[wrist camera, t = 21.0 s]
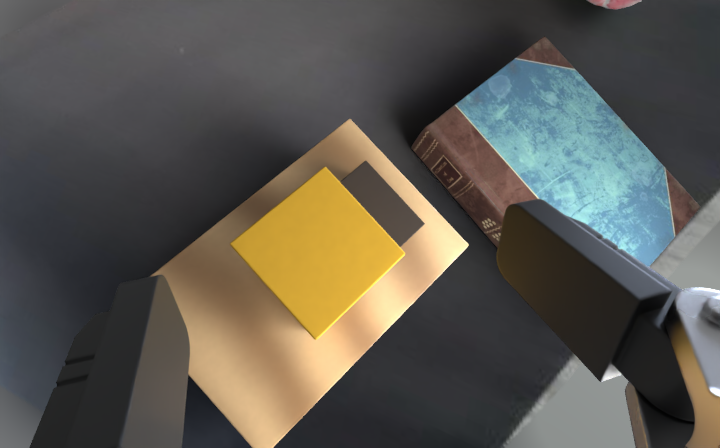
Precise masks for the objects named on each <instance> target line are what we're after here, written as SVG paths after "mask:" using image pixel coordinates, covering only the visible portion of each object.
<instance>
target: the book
mask: <svg viewBox="0 0 720 448" xmlns="http://www.w3.org/2000/svg"><path fill="white" fill-rule="evenodd" d="M411 148H412V149H413V151H414V152H415V153H416V154H417V155H418V157H419V158H420V159H421V160H422V161H423V162H424V164H425V165H426V166H427V167H428V168H429V169H430V170H431V172H432V173H433V174H434V175H435V176H436V177H437V179H438V180H439V181H440V182H441V183H442V184H443V186H444V187H445V188H446V189H447V190H448V191H449V193H450V194H451V195H452V196H453V197H454V198H455V199H456V201H457V202H458V203H459V204H460V205H461V206H462V208H463V209H464V210H465V211H466V212H467V213H468V215H469V216H470V217H471V218H472V219H473V220H474V222H475V223H476V224H477V225H478V226H479V227H480V228H481V230H482V231H483V232H484V233H485V234H486V235H487V237H488V238H489V239H490V240H491V241H492V242H493V244H494V245H495V246H496V247H497V248H498V245H499V240H500V234H501V229H502V224H503V219H504V214H505V210H506V208H507V207H508V206H509V205H511V204H515V203H520V202H525V201H530V200H535V199H542V200H544V201H546V202H547V203H549V204H550V205H552V206H553V207H554V208H556V209H557V210H559V211H560V212H562V213H563V214H564V215H566V216H569V217H571V218H574V219H576V220H579V221H581V222H583V223H586V224H587V225H588V226H590V227H591V228H593V229H594V230H596V231H597V232H599V233H600V234H602V235H603V238H604V239H605V238H607V239H609V240H610V241H612V242H613V243H615V244H616V245H618V248H619V249H623V250H625V251H626V252H628V253H629V254H631V255H632V256H634V257H635V258H636V259H638V260H639V261H641V262H642V263H644V264H645V265H647V266H648V267H649V266H650V265H651V264H652V262H653V261H654V260H655V259H656V258H657V257H658V256H659V254H660V253H661V252H662V251H663V250H664V249H665V248H666V246H667V245H668V244H669V243H670V242H671V241H672V240H673V238H674V237H675V236H676V235H677V234H678V233H679V231H680V230H681V229H682V228H683V227H684V226H685V225H686V223H687V222H688V221H689V220H690V219H691V218H692V216H693V215H694V214H695V213H696V212H697V211H698V209H699V208H700V206H699V205H698V204H697V202H696V201H695V200H694V199H693V198H692V197H691V196H690V195H689V194H688V192H687V191H686V190H685V189H684V188H683V187H682V186H681V185H680V184H679V183H678V181H677V180H676V179H675V178H674V177H673V176H672V175H671V174H670V173H669V172H668V171H667V169H666V168H665V167H664V166H663V165H662V164H661V163H660V162H659V161H658V160H657V158H656V157H655V156H654V155H653V154H652V153H651V152H650V151H649V150H648V149H647V147H646V146H645V145H644V144H643V143H642V142H641V141H640V140H639V139H638V138H637V137H636V135H635V134H634V133H633V132H632V131H631V130H630V129H629V128H628V127H627V126H626V124H625V123H624V122H623V121H622V120H621V119H620V118H619V117H618V116H617V115H616V114H615V112H614V111H613V110H612V109H611V108H610V107H609V106H608V105H607V104H606V103H605V101H604V100H603V99H602V98H601V97H600V96H599V95H598V94H597V93H596V92H595V90H594V89H593V88H592V87H591V86H590V85H589V84H588V83H587V82H586V81H585V80H584V78H583V77H582V76H581V75H580V74H579V73H578V72H577V71H576V70H575V69H574V67H573V66H572V65H571V64H570V63H569V62H568V61H567V60H566V59H565V58H564V57H563V55H562V54H561V53H560V52H559V51H558V50H557V49H556V48H555V47H554V46H553V44H552V43H551V42H550V41H549V40H548V39H547V38H546V37H545V36H544V37H542V38H541V39H540V40H538V41H537V42H536V43H534V44H533V45H532V46H531V47H529V48H528V49H527V50H525V51H524V52H523V53H521V54H520V55H519V56H517V57H516V58H515V59H514V60H512V61H511V62H510V63H508V64H507V65H506V66H504V67H503V68H502V69H500V70H499V71H498V72H497V73H495V74H494V75H493V76H491V77H490V78H489V79H487V80H486V81H485V82H484V83H482V84H481V85H480V86H478V87H477V88H476V89H474V90H473V91H472V92H471V93H469V94H468V95H467V96H465V97H464V98H463V99H461V100H460V101H459V102H458V103H456V104H455V105H454V106H452V107H451V108H450V109H449V110H447V111H446V112H445V113H444V114H442V115H441V116H440V117H438V118H437V119H436V120H435V121H434V122H432V123H431V124H429V125H427V126H426V127H425V128H424V129H423V130H422V132H421V133H420V134H419V136H418V137H417V139H416V140H415V142H414V143H413V145H412V147H411Z"/></svg>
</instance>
